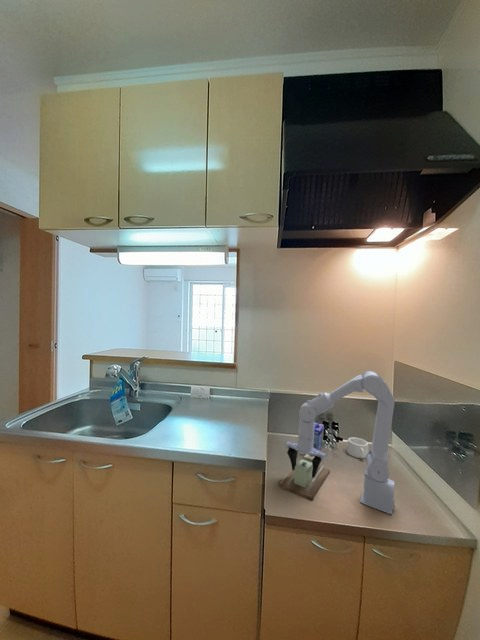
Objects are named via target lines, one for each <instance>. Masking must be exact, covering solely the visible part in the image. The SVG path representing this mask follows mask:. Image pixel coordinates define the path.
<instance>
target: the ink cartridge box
mask: <svg viewBox="0 0 480 640" xmlns="http://www.w3.org/2000/svg"><path fill="white" fill-rule="evenodd" d="M321 422H322V421H319V422H314V425H315V428H314V445H313V448H315V449H317V450H319V451H321V452H323V451H322V449H323V441H324V431H325V430H324V429H325V425H324V424H323V423H322V424H321Z"/></svg>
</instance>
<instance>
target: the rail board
mask: <svg viewBox="0 0 480 640" xmlns="http://www.w3.org/2000/svg"><path fill="white" fill-rule="evenodd" d="M313 458H314V456H311V455H308V454H304V456H303V460H305V461H308V462H311V463H312V460H313ZM294 472H295V470H291V472H290V473H288V475H287V476H286V477H285V478H284V479H283V480H282V481H281V483H279V488H281V489H283V490H286V491H289V492H290V493H294V494H295V495H298V496H301V497H303V498H305V499H308V500H310V501H314V499H315V497H316V495H317V494H318V492H319V490H320V489H321V487H322V486H323V485H324V482H325V481H326V479H327V478H328V476H329V475H330V472H331V469H328V468H325V466H323V465H321V463H320V464H319V466H318V469H317V472H316V476H315V477H314V478H313V477H312V480H311V481H310V482H309V484H308V485H307V487H306V488H305V487H302V486H300V485H297V484H295V483H294Z"/></svg>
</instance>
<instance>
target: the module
mask: <svg viewBox="0 0 480 640" xmlns="http://www.w3.org/2000/svg"><path fill="white" fill-rule="evenodd" d="M312 470H313V464H312V463H311V462H308V461H305V460H304V459H300V460H299V462H298V463H296V466H295V472H294V483H295V484H297V485H300V486H302V487H305V488H306V487H307V485H308V484H309V482H310V481H311V480H312Z"/></svg>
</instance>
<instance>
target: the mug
mask: <svg viewBox="0 0 480 640" xmlns="http://www.w3.org/2000/svg"><path fill="white" fill-rule="evenodd" d="M369 451H370V450H369V443H368V441H367V440H365V439H363V438H360V437H354V436H353V437H348V439H347V443H346V453H347V454H348V455H349V456H350V457H351V456H352V457H353V458H357V459H366V455H367V454H368V452H369Z"/></svg>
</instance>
